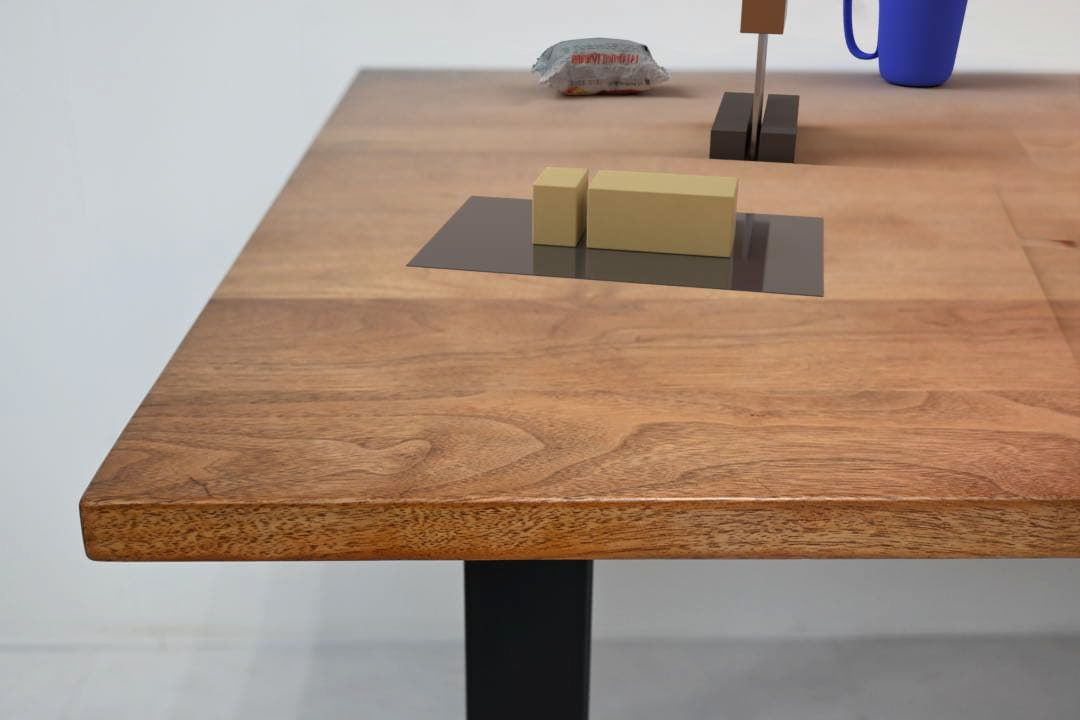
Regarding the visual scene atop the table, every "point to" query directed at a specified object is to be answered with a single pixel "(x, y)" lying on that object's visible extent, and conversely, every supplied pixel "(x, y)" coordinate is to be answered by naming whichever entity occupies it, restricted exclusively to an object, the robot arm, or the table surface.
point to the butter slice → (560, 206)
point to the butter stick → (662, 213)
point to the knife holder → (736, 128)
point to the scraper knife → (761, 49)
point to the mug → (913, 39)
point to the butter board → (630, 252)
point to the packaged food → (599, 67)
